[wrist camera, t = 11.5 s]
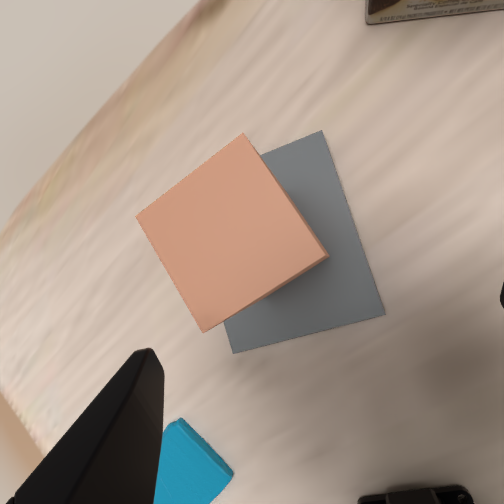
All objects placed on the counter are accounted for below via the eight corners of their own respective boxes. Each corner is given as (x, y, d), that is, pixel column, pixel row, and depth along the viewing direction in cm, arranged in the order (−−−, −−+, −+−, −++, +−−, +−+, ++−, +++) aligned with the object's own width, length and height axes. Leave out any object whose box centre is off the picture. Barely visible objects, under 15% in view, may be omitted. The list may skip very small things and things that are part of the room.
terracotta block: (329, 256, 20) (325, 255, 10) (264, 298, 21) (202, 333, 11) (286, 191, 21) (243, 132, 11) (224, 234, 22) (135, 216, 12)
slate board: (382, 311, 20) (385, 314, 19) (238, 348, 22) (233, 353, 21) (322, 137, 21) (321, 130, 20) (191, 190, 24) (183, 186, 22)
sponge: (83, 519, 25) (127, 593, 23) (175, 414, 23) (230, 484, 21) (99, 506, 26) (141, 574, 24) (187, 406, 24) (239, 471, 23)
